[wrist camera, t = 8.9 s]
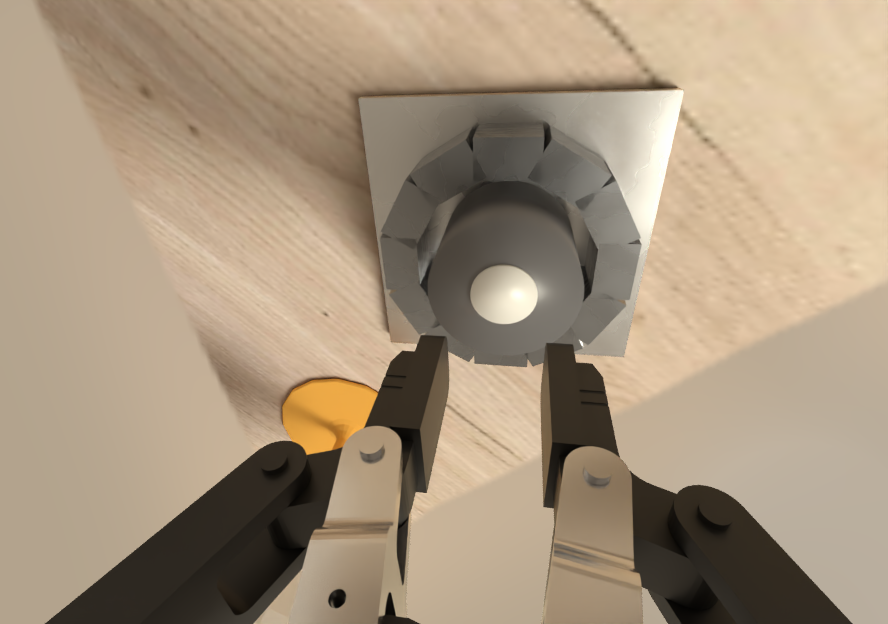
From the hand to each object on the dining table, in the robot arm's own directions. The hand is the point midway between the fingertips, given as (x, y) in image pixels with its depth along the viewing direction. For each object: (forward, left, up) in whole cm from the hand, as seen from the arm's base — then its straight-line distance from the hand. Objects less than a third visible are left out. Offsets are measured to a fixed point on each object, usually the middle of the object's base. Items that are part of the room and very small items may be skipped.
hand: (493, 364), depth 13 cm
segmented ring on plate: (0, 0, -9) cm, 9 cm away
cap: (0, 0, -9) cm, 9 cm away
